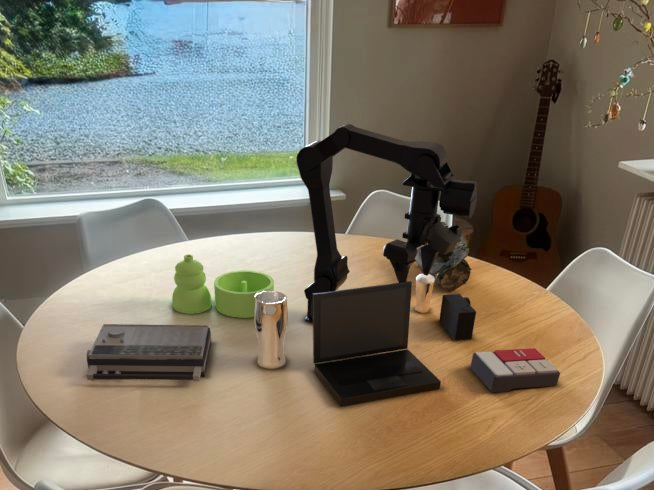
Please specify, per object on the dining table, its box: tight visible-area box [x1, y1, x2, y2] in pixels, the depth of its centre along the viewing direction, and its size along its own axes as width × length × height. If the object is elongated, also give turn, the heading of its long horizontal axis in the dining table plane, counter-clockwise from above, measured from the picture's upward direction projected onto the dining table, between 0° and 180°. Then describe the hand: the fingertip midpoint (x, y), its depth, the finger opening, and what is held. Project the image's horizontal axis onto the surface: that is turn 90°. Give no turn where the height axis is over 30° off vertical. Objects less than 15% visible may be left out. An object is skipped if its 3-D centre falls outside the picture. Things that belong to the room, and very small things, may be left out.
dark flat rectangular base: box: [313, 348, 442, 408], centre depth 151 cm, size 15×22×2 cm
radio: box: [86, 323, 212, 382], centre depth 155 cm, size 24×5×20 cm
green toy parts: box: [171, 254, 275, 319], centre depth 177 cm, size 25×14×13 cm, turn 93°
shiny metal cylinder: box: [414, 273, 439, 314], centre depth 178 cm, size 5×5×10 cm
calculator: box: [469, 347, 561, 393], centre depth 153 cm, size 11×4×15 cm
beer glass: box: [253, 290, 289, 370], centre depth 153 cm, size 7×7×15 cm
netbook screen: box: [312, 280, 413, 365], centre depth 153 cm, size 15×22×1 cm
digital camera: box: [438, 293, 477, 341], centre depth 170 cm, size 10×5×7 cm, turn 12°
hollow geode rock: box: [406, 221, 473, 293], centre depth 194 cm, size 28×13×15 cm
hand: (414, 280), depth 161 cm, fingers open, 9 cm apart
